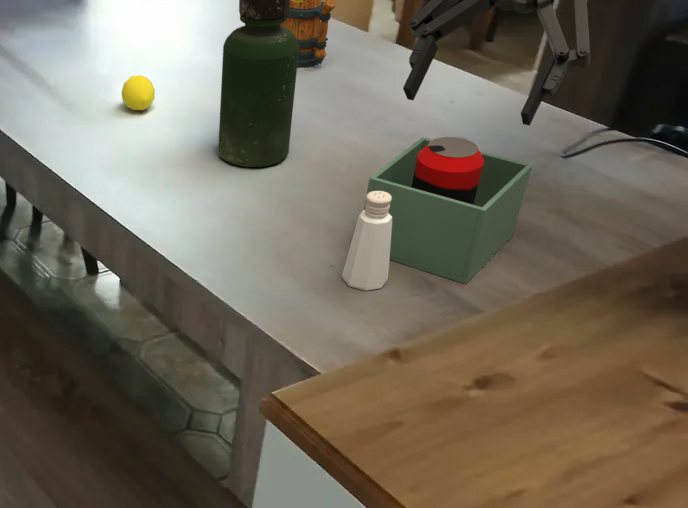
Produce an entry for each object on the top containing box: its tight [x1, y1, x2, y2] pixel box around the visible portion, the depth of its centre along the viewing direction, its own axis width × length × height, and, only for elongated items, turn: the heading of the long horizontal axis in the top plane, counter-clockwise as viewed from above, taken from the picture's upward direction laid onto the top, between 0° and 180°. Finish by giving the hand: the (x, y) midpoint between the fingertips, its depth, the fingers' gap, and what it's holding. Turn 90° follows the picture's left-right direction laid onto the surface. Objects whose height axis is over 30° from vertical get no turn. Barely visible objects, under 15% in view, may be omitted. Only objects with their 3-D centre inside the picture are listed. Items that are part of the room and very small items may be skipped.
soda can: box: [411, 136, 484, 205], centre depth 113 cm, size 8×8×12 cm
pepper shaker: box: [341, 191, 392, 292], centre depth 108 cm, size 5×5×11 cm
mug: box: [280, 0, 336, 69], centre depth 163 cm, size 13×10×12 cm
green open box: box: [363, 136, 534, 285], centre depth 114 cm, size 14×14×10 cm
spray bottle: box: [217, 0, 299, 168], centre depth 131 cm, size 10×10×25 cm
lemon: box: [121, 74, 156, 111], centre depth 152 cm, size 7×5×5 cm
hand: (464, 106), depth 105 cm, fingers open, 13 cm apart
